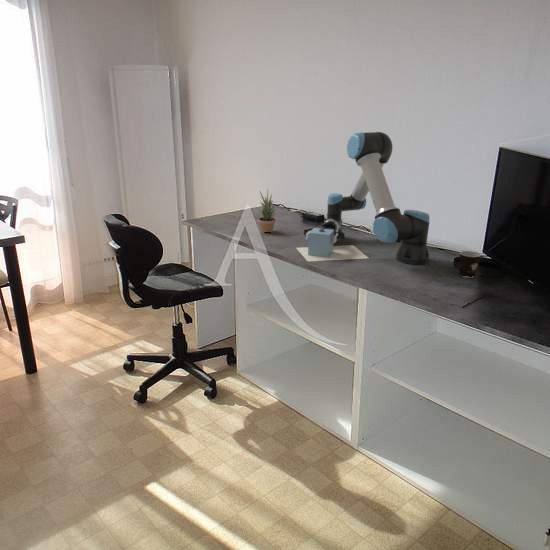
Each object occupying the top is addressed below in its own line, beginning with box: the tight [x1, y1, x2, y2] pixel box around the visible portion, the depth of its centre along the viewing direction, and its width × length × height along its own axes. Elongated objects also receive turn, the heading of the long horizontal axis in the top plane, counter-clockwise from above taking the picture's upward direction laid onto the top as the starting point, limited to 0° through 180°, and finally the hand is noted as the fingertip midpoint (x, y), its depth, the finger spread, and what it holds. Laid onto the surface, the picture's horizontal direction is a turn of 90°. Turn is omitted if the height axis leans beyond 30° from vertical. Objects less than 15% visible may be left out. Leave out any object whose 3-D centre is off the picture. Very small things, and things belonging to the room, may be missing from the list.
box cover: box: [307, 227, 334, 257], centre depth 250 cm, size 10×10×12 cm
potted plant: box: [257, 188, 276, 233], centre depth 285 cm, size 10×10×25 cm
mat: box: [295, 244, 369, 262], centre depth 253 cm, size 22×30×1 cm
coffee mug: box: [453, 250, 482, 277], centre depth 224 cm, size 12×9×10 cm
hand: (320, 238), depth 248 cm, fingers open, 13 cm apart
